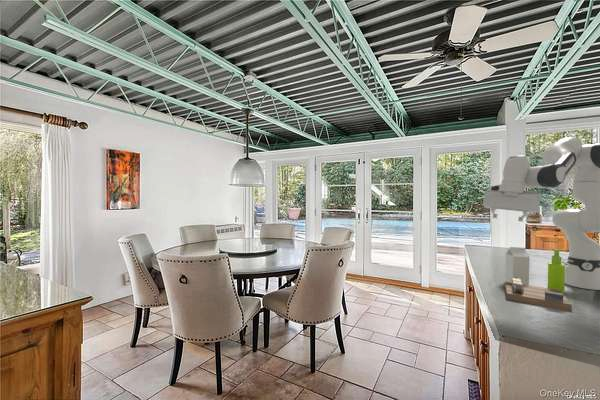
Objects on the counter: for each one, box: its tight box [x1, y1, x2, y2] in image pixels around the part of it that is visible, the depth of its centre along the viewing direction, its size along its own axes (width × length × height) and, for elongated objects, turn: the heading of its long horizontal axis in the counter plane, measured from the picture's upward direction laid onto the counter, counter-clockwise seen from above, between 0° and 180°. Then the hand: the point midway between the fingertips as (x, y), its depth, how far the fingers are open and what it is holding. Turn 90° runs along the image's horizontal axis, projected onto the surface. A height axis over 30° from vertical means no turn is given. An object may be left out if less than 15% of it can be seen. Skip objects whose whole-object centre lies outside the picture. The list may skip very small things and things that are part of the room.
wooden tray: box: [504, 282, 573, 312], centre depth 121 cm, size 22×20×6 cm
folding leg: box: [512, 277, 524, 293], centre depth 125 cm, size 17×4×3 cm, turn 145°
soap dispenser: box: [547, 248, 569, 294], centre depth 130 cm, size 6×7×20 cm
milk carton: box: [504, 246, 530, 285], centre depth 140 cm, size 7×7×19 cm
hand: (507, 219), depth 124 cm, fingers open, 8 cm apart
